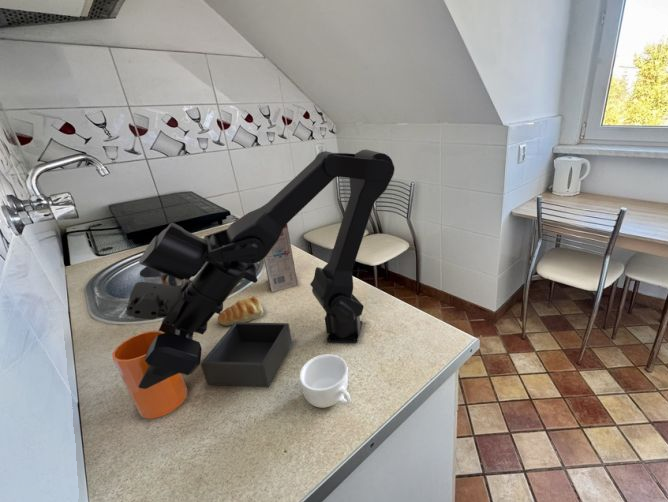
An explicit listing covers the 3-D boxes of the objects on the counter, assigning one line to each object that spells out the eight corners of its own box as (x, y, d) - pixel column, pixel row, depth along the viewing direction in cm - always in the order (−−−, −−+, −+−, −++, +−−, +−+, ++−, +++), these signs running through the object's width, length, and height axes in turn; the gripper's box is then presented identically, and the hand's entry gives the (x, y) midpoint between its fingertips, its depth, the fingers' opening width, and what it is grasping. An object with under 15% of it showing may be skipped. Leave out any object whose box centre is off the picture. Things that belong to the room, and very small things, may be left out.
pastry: (222, 333, 70) (218, 318, 68) (216, 318, 75) (211, 304, 73) (266, 315, 75) (263, 302, 74) (257, 303, 80) (254, 290, 79)
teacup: (294, 397, 54) (289, 373, 52) (330, 370, 60) (327, 347, 58) (332, 433, 48) (328, 407, 46) (368, 398, 54) (366, 374, 52)
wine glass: (183, 313, 77) (164, 257, 71) (212, 317, 75) (194, 260, 69) (153, 336, 69) (128, 275, 64) (184, 340, 68) (162, 279, 62)
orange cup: (196, 385, 57) (176, 331, 52) (169, 419, 51) (143, 361, 46) (160, 384, 57) (137, 330, 53) (128, 418, 51) (99, 360, 47)
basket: (292, 342, 67) (288, 323, 65) (269, 387, 56) (263, 365, 55) (240, 341, 67) (234, 322, 65) (207, 385, 57) (200, 363, 55)
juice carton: (272, 291, 85) (255, 212, 76) (268, 280, 90) (252, 205, 81) (297, 284, 88) (284, 208, 79) (292, 274, 93) (279, 201, 84)
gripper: (165, 243, 55) (107, 315, 54) (141, 298, 39) (60, 399, 39) (228, 272, 61) (175, 337, 61) (228, 330, 46) (158, 417, 45)
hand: (148, 366), depth 51 cm, fingers open, 9 cm apart
